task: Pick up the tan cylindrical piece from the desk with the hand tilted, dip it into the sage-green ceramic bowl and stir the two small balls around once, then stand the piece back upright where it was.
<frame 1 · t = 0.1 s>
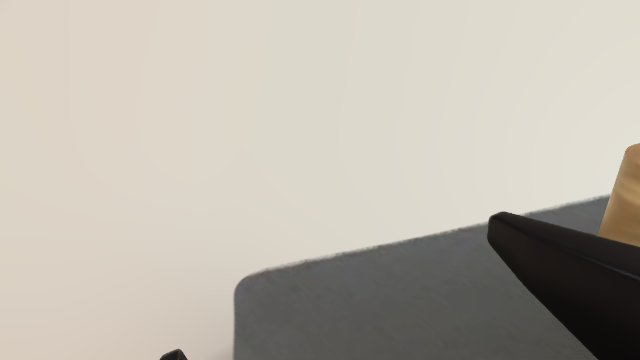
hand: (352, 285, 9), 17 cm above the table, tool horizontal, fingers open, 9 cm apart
tan cylindrical piece: (596, 319, 24), on the table
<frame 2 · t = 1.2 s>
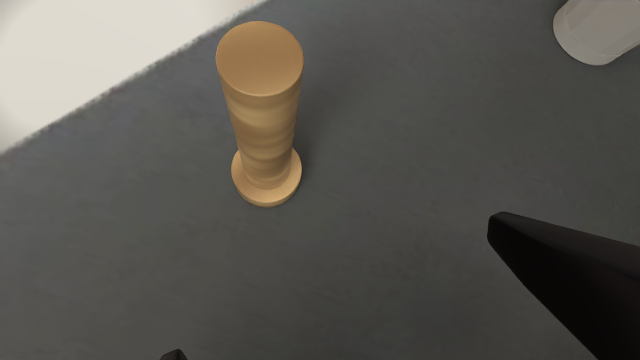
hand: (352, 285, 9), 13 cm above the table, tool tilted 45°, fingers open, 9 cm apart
tan cylindrical piece: (267, 175, 24), on the table
cup: (584, 35, 31), on the table
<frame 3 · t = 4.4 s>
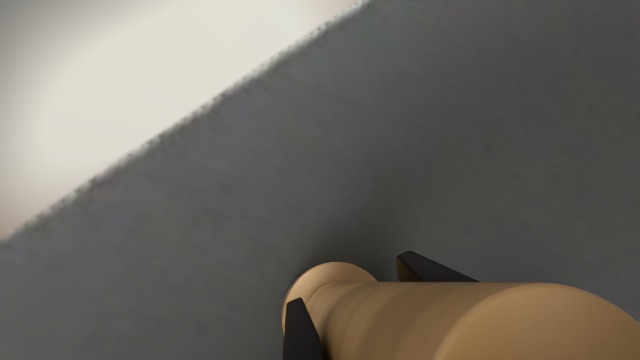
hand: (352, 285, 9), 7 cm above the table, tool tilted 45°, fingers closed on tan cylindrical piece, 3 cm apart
tan cylindrical piece: (331, 315, 15), on the table, touching gripper
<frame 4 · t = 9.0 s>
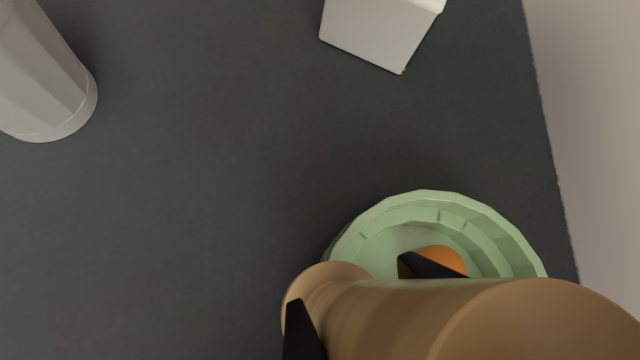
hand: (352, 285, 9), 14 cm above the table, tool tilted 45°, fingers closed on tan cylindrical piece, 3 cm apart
tan cylindrical piece: (331, 313, 15), point 7 cm above the table, touching gripper
cup: (47, 99, 24), on the table
medicine bottle: (373, 26, 29), on the table
orange ball: (438, 271, 21), point 2 cm above the table, touching bowl
bowl: (411, 305, 23), on the table
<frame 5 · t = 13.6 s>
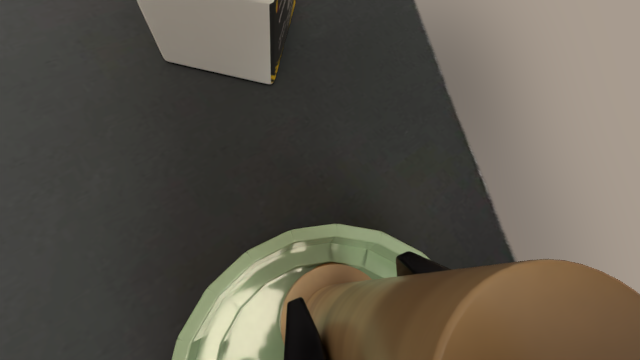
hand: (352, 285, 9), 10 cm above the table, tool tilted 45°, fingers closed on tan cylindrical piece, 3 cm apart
tan cylindrical piece: (330, 318, 15), point 4 cm above the table, touching gripper, orange ball
medicine bottle: (233, 33, 24), on the table
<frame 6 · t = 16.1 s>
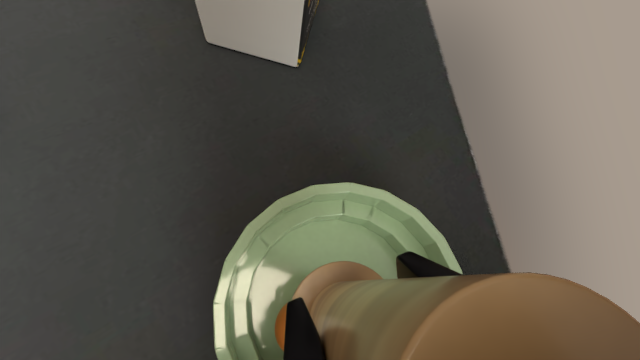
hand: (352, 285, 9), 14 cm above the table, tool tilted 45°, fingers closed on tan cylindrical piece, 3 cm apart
tan cylindrical piece: (340, 315, 15), point 7 cm above the table, touching gripper
medicine bottle: (265, 20, 27), on the table
orange ball: (303, 327, 20), point 2 cm above the table, tilted 123°, touching bowl
bowl: (333, 302, 22), on the table
when the fingers open (6 cm above the table, at t = 22.1 s): tan cylindrical piece stays where it is, on the table.
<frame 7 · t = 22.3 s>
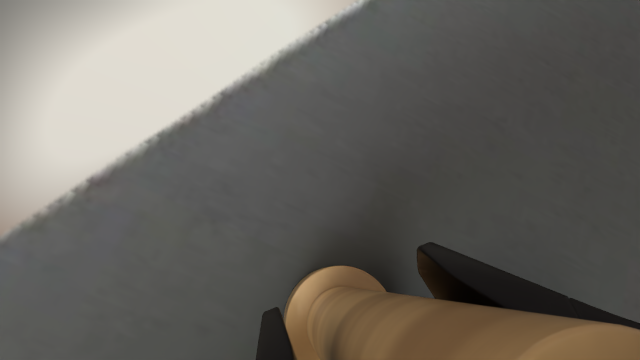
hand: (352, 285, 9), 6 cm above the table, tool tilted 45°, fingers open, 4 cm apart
tan cylindrical piece: (335, 319, 15), on the table
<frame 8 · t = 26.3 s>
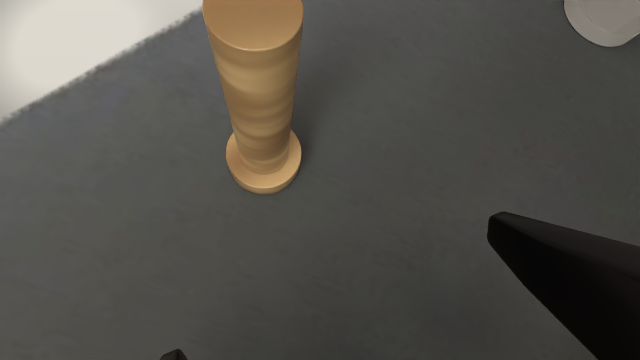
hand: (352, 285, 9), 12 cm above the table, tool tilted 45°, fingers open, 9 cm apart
tan cylindrical piece: (264, 160, 22), on the table
cup: (597, 15, 30), on the table
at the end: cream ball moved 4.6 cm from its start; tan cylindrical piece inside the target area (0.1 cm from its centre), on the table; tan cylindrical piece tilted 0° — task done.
